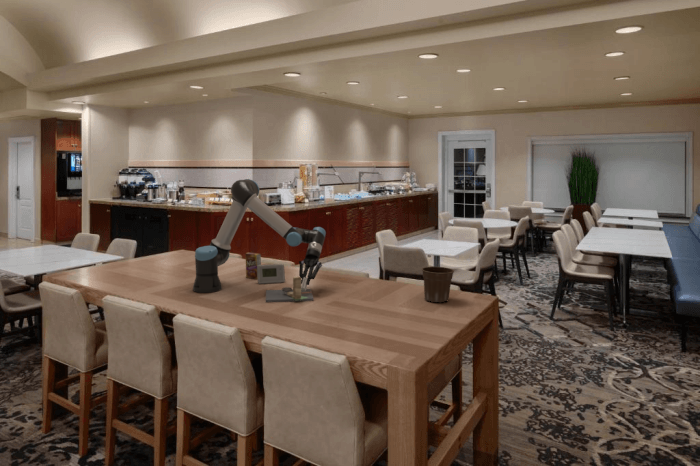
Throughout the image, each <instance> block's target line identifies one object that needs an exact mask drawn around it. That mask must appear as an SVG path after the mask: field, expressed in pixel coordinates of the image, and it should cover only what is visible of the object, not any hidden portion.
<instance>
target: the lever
mask: <svg viewBox="0 0 700 466" xmlns="http://www.w3.org/2000/svg"><path fill="white" fill-rule="evenodd" d="M301 280H302V278H301V277H300V276H299V275H298V276H293V277H292V287H289V286H287V287H283V288H282V289H281V290H282V291H285V292H287V295H289V296H291V297H293V298H294V299H301V285H302V284H301ZM292 289H293V292H288V291H292Z"/></svg>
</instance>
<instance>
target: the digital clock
mask: <svg viewBox="0 0 700 466" xmlns="http://www.w3.org/2000/svg"><path fill="white" fill-rule="evenodd" d="M256 280H257V284H259V285H262V284H263V285H268V284H269V285H271V284H281V283H285V282H286V275H285V264H284V263H272V264H271V263H270V264H269V263H268V264H261V265H258V266H257V279H256Z"/></svg>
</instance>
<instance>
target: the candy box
mask: <svg viewBox="0 0 700 466" xmlns="http://www.w3.org/2000/svg"><path fill="white" fill-rule="evenodd" d="M261 256H262V253H256V252H246V253H245V278H246V279H252V280H258V279H257V266H258V265H262V257H261Z"/></svg>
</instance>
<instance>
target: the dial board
mask: <svg viewBox="0 0 700 466" xmlns="http://www.w3.org/2000/svg"><path fill="white" fill-rule="evenodd" d="M288 292H293V288H292V291H288ZM311 301H313V302H314V295H313V292H312V289H311V288H306V291H302V290H301V299H294V298H293V297H291V296H289V295H287V292H285V291H282V289H267V290H265V303H284V302H285V303H288V302H311Z"/></svg>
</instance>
